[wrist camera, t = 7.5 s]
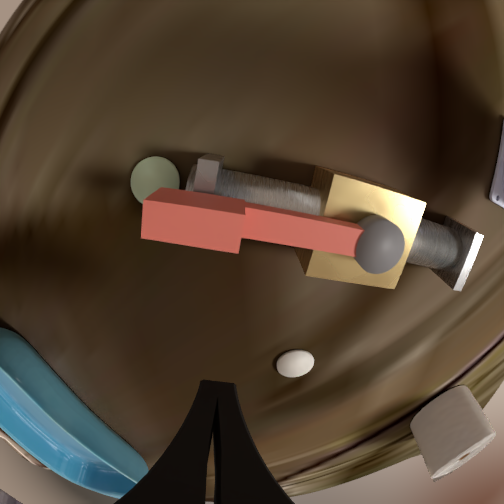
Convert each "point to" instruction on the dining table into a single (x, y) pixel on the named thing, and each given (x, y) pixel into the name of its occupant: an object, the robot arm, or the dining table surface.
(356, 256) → the lever
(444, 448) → the toilet tissue
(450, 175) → the dining table surface
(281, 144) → the dining table surface
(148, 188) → the pale green round disc
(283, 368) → the white flattened pebble
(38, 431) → the casserole dish
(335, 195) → the valve body
